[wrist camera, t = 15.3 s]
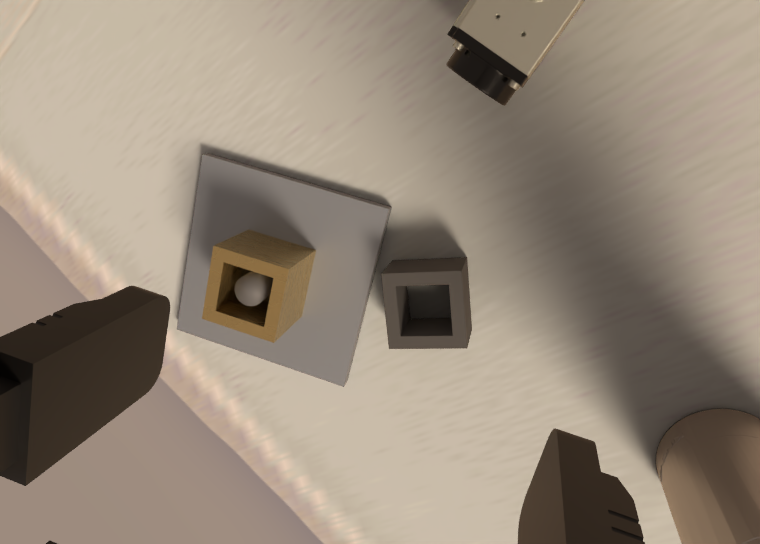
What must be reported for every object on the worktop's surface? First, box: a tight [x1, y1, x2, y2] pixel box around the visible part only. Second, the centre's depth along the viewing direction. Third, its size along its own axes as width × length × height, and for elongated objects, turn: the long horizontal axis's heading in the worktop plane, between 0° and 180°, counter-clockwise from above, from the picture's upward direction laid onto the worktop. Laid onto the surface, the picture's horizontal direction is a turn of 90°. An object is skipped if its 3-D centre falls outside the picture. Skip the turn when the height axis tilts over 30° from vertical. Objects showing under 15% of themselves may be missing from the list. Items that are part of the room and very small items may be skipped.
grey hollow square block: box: [381, 257, 472, 349], centre depth 47 cm, size 6×6×4 cm
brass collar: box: [202, 229, 316, 343], centre depth 48 cm, size 6×6×6 cm
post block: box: [177, 153, 391, 387], centre depth 49 cm, size 16×16×6 cm
